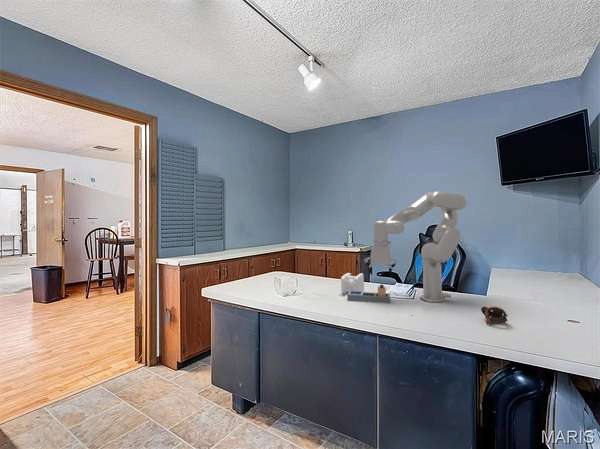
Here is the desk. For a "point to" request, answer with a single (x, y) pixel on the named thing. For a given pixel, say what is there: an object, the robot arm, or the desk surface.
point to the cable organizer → (352, 283)
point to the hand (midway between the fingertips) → (380, 275)
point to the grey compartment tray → (367, 297)
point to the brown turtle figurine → (494, 315)
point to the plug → (382, 291)
